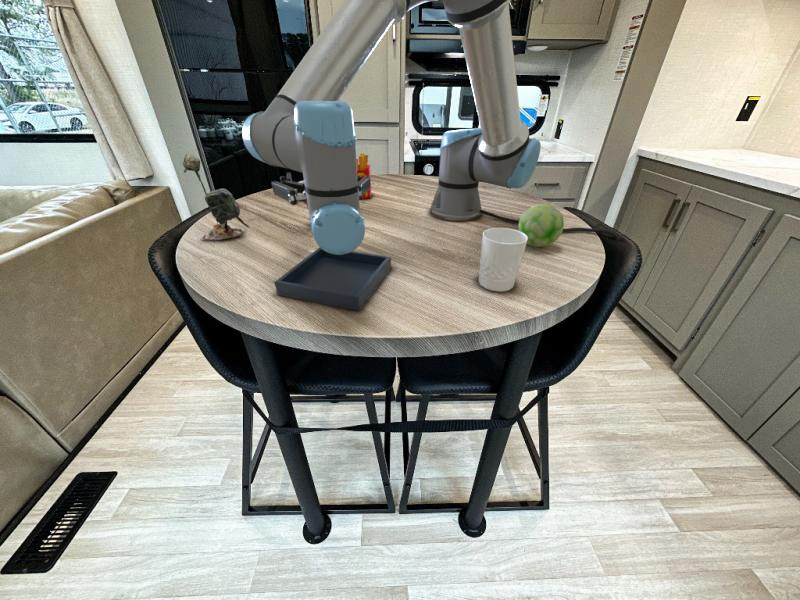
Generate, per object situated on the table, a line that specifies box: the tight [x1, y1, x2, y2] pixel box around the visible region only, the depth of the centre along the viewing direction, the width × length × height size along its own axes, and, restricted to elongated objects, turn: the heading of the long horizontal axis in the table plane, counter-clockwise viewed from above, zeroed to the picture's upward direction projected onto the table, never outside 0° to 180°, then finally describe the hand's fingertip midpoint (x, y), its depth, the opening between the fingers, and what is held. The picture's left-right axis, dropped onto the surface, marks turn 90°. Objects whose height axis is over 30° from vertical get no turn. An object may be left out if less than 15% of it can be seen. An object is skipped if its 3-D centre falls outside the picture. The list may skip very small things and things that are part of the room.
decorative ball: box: [517, 203, 565, 248], centre depth 76 cm, size 10×10×10 cm
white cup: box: [478, 227, 528, 293], centre depth 61 cm, size 8×8×10 cm
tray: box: [274, 246, 392, 312], centre depth 63 cm, size 17×17×3 cm
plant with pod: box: [182, 153, 250, 241], centre depth 78 cm, size 8×11×20 cm
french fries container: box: [356, 153, 372, 200], centre depth 110 cm, size 7×9×14 cm
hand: (320, 177), depth 74 cm, fingers open, 13 cm apart
